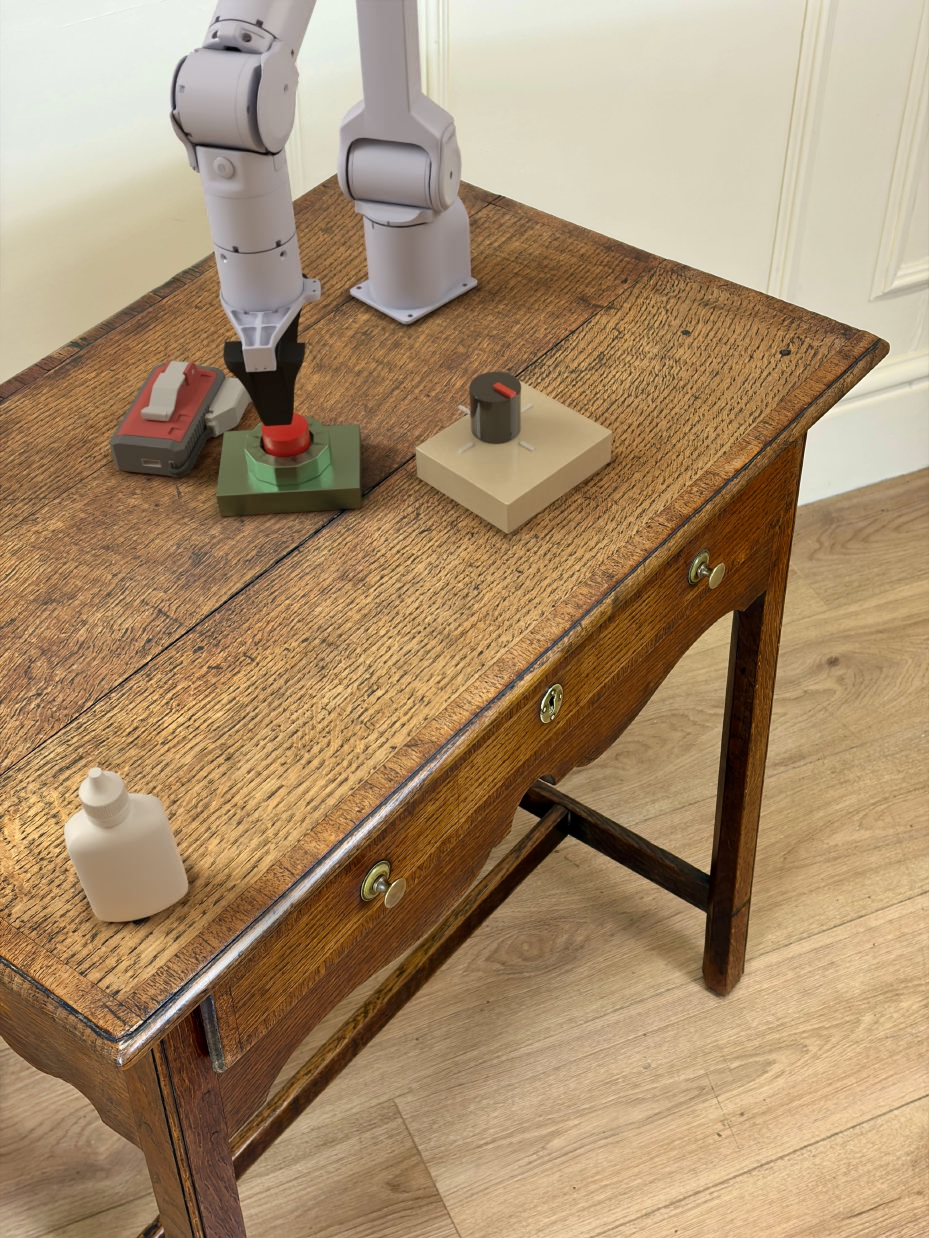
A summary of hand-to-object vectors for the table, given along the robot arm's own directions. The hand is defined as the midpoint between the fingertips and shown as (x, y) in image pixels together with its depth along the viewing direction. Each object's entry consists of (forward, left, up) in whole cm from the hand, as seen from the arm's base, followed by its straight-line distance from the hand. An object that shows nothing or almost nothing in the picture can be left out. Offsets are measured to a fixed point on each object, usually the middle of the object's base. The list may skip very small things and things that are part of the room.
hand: (279, 396), depth 98 cm
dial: (-13, +10, -5) cm, 17 cm away
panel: (-13, +12, -8) cm, 20 cm away
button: (0, 0, -5) cm, 5 cm away
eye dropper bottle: (+31, +23, -8) cm, 39 cm away
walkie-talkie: (0, -13, -8) cm, 16 cm away
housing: (0, 0, -8) cm, 8 cm away
